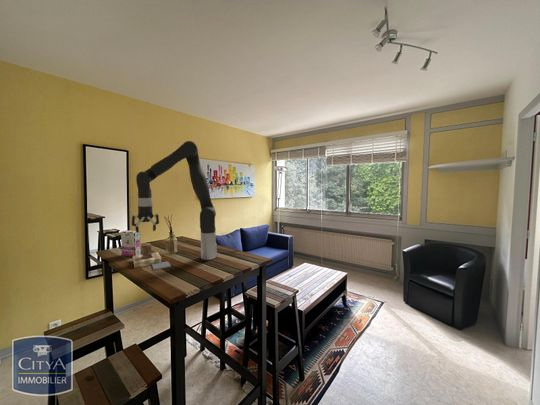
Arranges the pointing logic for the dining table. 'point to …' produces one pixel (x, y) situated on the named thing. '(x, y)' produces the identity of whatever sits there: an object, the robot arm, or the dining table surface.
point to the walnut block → (146, 251)
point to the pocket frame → (146, 260)
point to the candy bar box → (130, 243)
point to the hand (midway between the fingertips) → (145, 231)
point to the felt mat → (161, 265)
